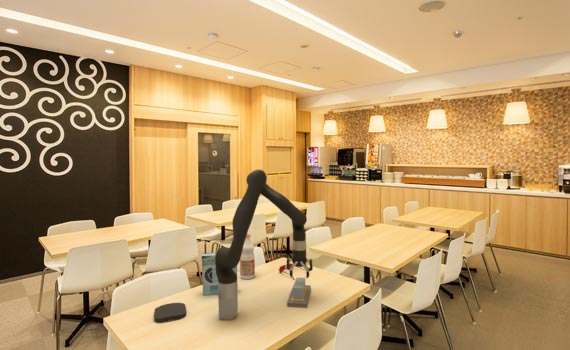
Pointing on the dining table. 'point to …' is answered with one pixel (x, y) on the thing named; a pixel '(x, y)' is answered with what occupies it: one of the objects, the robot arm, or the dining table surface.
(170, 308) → the media streaming box
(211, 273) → the blue flat upright box
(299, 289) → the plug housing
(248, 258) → the fruit juice
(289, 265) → the glasses
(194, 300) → the dining table surface
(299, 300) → the board
